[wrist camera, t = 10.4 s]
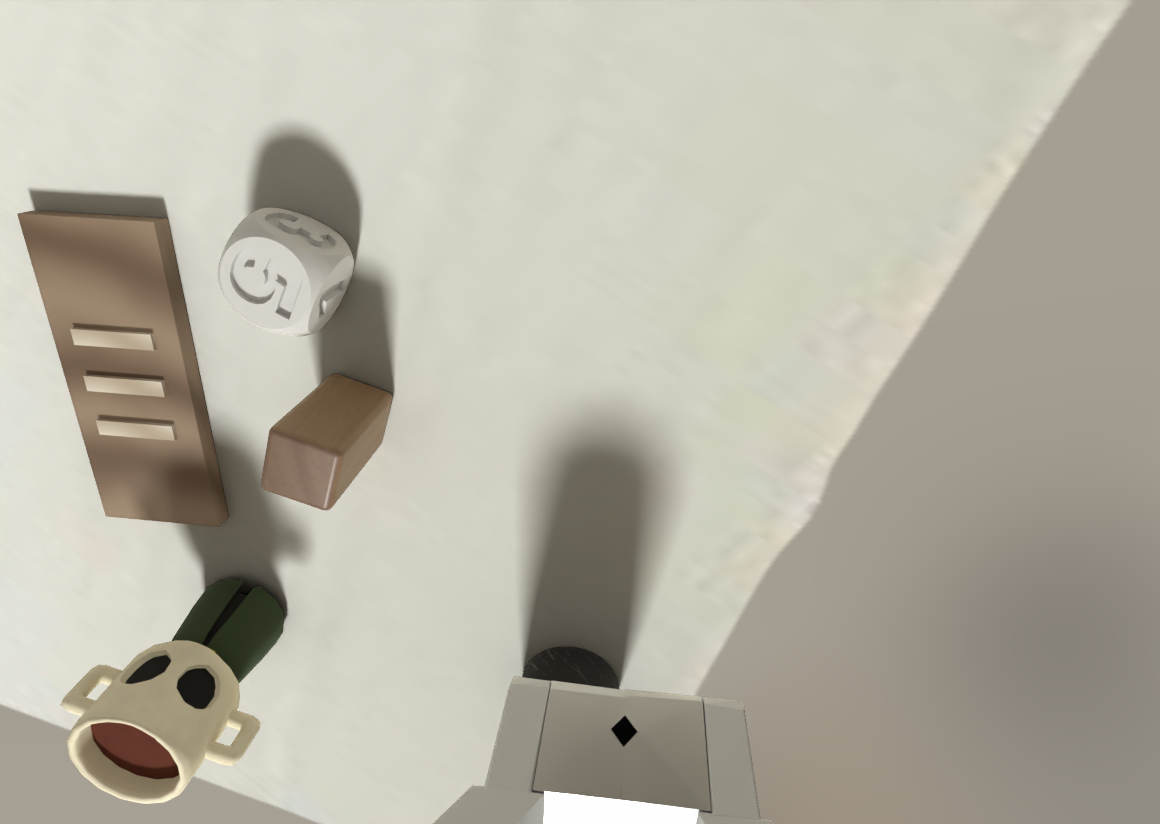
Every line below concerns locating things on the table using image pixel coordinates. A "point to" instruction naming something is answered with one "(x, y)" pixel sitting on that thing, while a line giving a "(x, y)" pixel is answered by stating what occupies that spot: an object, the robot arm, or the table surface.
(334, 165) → the table surface
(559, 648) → the travel mug
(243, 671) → the character mug
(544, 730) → the robot arm
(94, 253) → the board
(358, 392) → the wooden block
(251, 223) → the die
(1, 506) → the table surface
